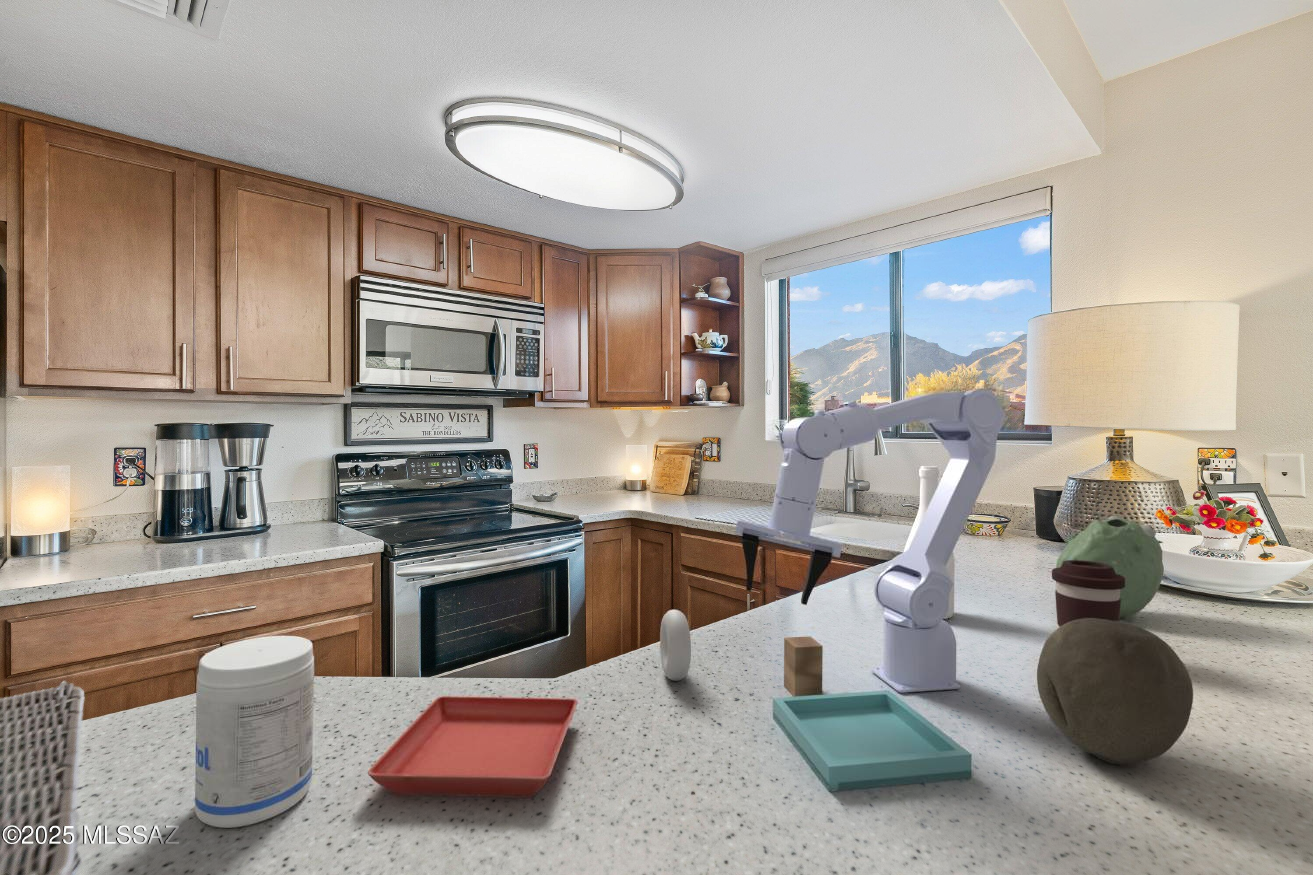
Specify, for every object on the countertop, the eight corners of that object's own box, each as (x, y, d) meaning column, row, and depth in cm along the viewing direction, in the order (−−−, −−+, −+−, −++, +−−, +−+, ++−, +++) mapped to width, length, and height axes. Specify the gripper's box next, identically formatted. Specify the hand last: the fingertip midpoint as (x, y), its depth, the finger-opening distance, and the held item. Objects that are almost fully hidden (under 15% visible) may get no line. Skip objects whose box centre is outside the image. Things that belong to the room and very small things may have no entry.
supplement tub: (183, 803, 58) (184, 651, 58) (292, 762, 65) (293, 627, 65) (211, 848, 52) (212, 678, 52) (329, 798, 59) (329, 648, 59)
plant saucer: (437, 719, 76) (437, 693, 76) (579, 722, 75) (579, 696, 75) (363, 808, 58) (363, 773, 58) (548, 813, 57) (549, 778, 57)
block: (810, 684, 87) (810, 636, 87) (822, 696, 83) (822, 645, 83) (783, 686, 86) (784, 637, 86) (794, 698, 82) (795, 647, 82)
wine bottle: (963, 621, 117) (964, 467, 117) (914, 621, 117) (915, 467, 117) (940, 607, 126) (941, 465, 126) (895, 607, 126) (896, 464, 126)
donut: (693, 691, 84) (694, 620, 84) (669, 693, 83) (669, 621, 83) (679, 664, 94) (680, 601, 94) (657, 665, 93) (658, 601, 93)
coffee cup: (1058, 659, 97) (1059, 567, 97) (1045, 640, 106) (1046, 555, 106) (1133, 668, 93) (1134, 572, 93) (1112, 648, 103) (1113, 560, 103)
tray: (888, 709, 79) (888, 690, 79) (971, 777, 63) (971, 754, 63) (772, 717, 76) (773, 697, 76) (828, 791, 61) (829, 766, 61)
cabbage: (1036, 607, 127) (1037, 513, 127) (1108, 602, 131) (1109, 511, 131) (1107, 630, 112) (1108, 523, 112) (1186, 624, 116) (1187, 521, 116)
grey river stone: (1208, 806, 58) (1210, 653, 58) (1036, 763, 66) (1038, 627, 66) (1178, 744, 70) (1179, 616, 70) (1035, 713, 78) (1037, 598, 78)
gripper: (742, 490, 82) (722, 588, 81) (851, 513, 79) (831, 615, 78) (744, 489, 89) (726, 580, 88) (845, 510, 86) (826, 604, 85)
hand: (775, 596), depth 84 cm, fingers open, 7 cm apart
